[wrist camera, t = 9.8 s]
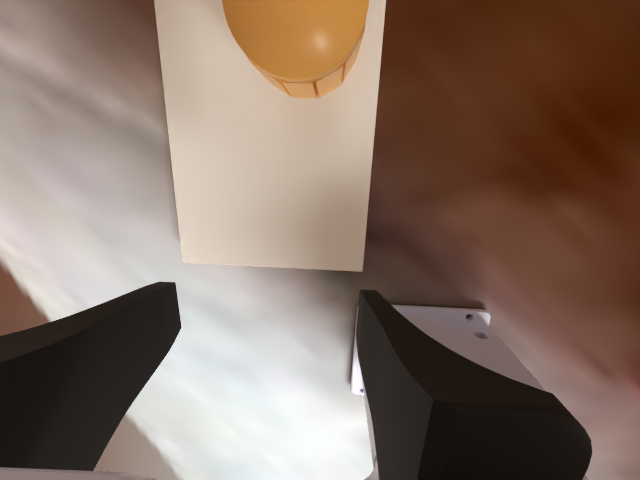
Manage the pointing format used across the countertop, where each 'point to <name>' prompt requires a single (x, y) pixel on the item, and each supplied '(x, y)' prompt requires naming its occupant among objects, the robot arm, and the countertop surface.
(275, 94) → the mounting plate
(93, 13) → the countertop surface
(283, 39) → the cupcake
